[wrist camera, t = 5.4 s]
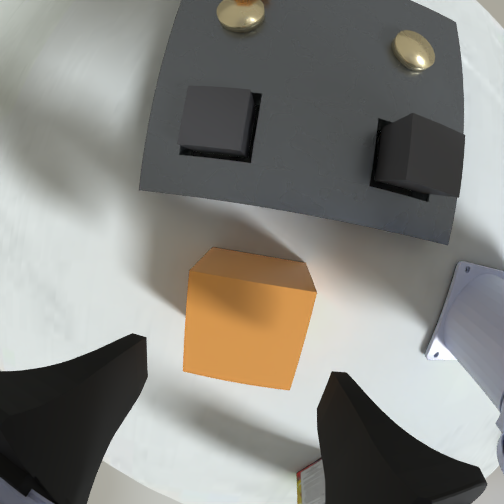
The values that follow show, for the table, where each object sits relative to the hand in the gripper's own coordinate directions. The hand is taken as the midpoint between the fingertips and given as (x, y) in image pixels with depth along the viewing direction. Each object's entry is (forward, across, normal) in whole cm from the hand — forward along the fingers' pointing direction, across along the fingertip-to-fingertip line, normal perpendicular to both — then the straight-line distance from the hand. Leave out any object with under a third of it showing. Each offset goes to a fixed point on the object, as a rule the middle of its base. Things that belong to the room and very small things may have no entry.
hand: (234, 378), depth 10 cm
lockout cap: (+8, 0, 0) cm, 8 cm away
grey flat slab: (+8, -2, -14) cm, 16 cm away
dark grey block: (+8, +3, -10) cm, 13 cm away
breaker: (+6, -7, -10) cm, 14 cm away
